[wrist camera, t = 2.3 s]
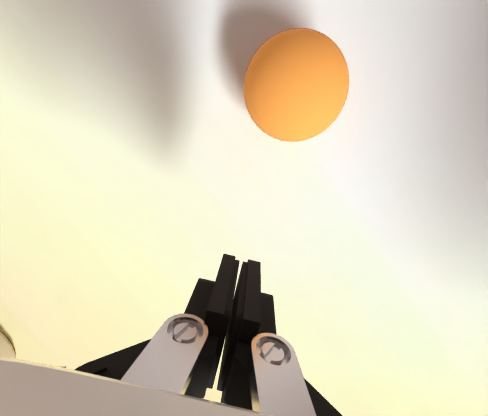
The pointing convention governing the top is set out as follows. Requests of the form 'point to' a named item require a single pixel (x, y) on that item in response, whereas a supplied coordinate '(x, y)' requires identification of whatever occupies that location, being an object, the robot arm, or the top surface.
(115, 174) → the top surface
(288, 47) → the ball
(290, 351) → the robot arm
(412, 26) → the top surface
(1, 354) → the supplement can
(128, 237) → the top surface
